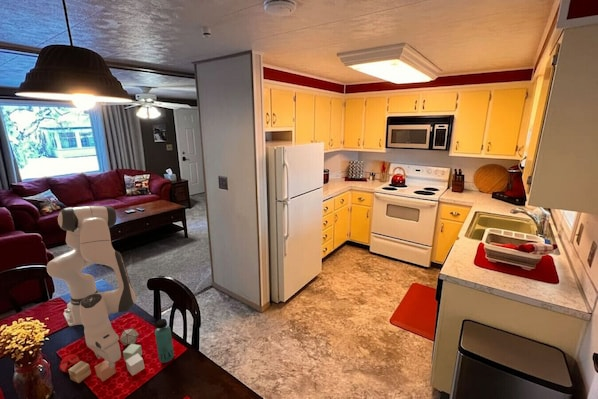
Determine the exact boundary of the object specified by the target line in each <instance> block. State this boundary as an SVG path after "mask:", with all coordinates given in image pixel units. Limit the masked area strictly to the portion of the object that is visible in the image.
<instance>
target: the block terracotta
mask: <svg viewBox="0 0 598 399" xmlns="http://www.w3.org/2000/svg"><path fill="white" fill-rule="evenodd" d="M108 363H109V362H108V361H107V360H105V359H104V360H103V361H101V362H100V363H97V365H95V366H94V369H95V375H96V376H97V377H98V379H99V380H101V381H102V382H104V381H106V380H107V379H109V378H110V377H112V376H114V375H115V374H116V373H117V372H116V367H115V366H114V367H113V368H110V367H109V365H108Z"/></svg>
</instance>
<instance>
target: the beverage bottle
mask: <svg viewBox="0 0 598 399" xmlns="http://www.w3.org/2000/svg"><path fill="white" fill-rule="evenodd" d="M154 335H155V342H156V349H157V357H158V360H159V361H160V362H161V363H168V362H170V361H172V360H173V358H174V356H175V353H174V352H175V351H174V349H175V348H174V343H173V339H172V338H173V336H172V331H171V327H170V326H169V325H168V322H167V319H165V318H161V319H158V320H157V321H156V329H155V331H154Z"/></svg>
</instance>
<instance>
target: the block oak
mask: <svg viewBox="0 0 598 399" xmlns="http://www.w3.org/2000/svg"><path fill="white" fill-rule="evenodd" d="M67 370H68V374H69V378H70V380H71V381H73V382H76V383H77V384H80V383H81V382H82V381H84V380H85V379H87V377H89V376H90V375H91V374H92V371H91V368H90V364H89V363H87V362H86V361H83V360H79V362H78V363H76V364H73V365H72V367H71V366H70V367H69V368H68V369H67Z"/></svg>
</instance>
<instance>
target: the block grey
mask: <svg viewBox="0 0 598 399" xmlns="http://www.w3.org/2000/svg"><path fill="white" fill-rule="evenodd" d="M125 364H126V370H127V371H128V372H129V374H130V375H131V377H133V376H134V375H137V374H138V373H140V372H141V371H143V370H144V369H146V368H145V363H144V359H143V357H142V355H141V356H140V355H139V354H138V353H137V354H136V355H134V356H132V357H130V358H129V359H127V360H126V361H125Z"/></svg>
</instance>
